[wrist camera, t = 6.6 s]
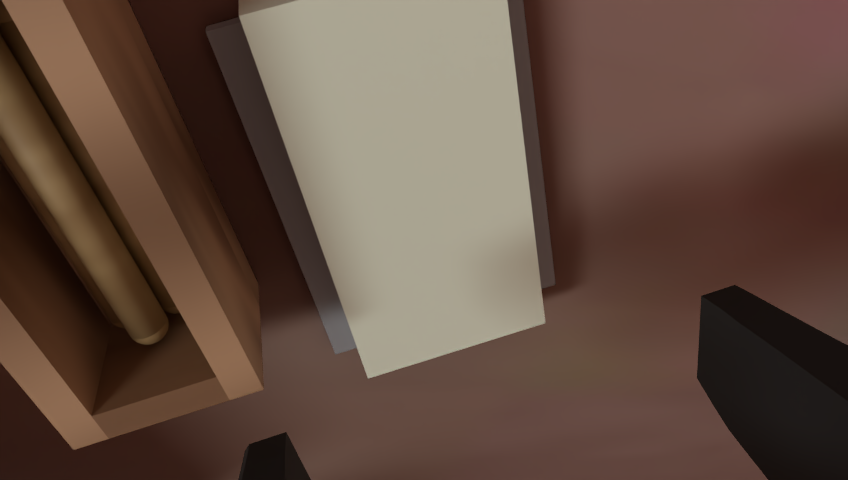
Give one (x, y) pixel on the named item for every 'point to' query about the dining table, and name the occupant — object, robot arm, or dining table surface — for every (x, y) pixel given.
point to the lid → (407, 165)
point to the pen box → (111, 232)
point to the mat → (287, 192)
